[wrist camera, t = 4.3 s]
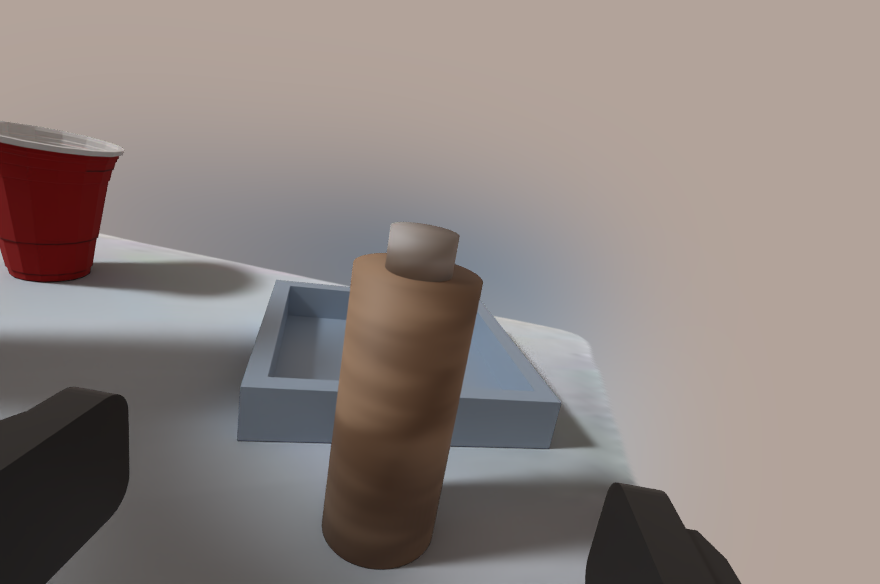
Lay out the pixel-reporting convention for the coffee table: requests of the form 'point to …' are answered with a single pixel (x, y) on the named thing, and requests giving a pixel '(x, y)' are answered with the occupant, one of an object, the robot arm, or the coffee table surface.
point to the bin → (319, 362)
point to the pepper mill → (398, 395)
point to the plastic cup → (51, 200)
